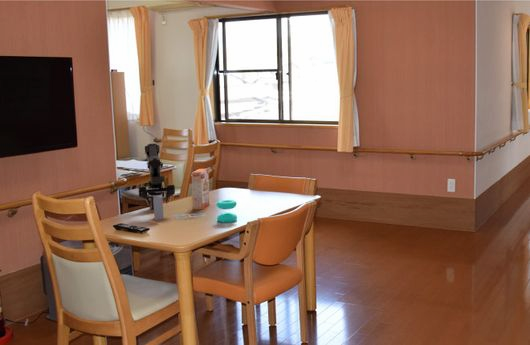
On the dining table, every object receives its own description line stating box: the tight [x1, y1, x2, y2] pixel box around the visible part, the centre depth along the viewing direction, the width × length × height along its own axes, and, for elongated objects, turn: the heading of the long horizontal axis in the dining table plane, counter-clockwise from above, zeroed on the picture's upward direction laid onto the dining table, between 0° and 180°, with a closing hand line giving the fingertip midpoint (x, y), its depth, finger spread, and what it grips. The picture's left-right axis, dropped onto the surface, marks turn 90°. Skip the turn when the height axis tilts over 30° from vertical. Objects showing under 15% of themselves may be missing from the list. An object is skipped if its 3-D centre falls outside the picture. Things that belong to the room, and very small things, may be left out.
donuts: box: [216, 199, 238, 223], centre depth 321 cm, size 10×10×10 cm
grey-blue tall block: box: [153, 194, 165, 221], centre depth 330 cm, size 4×4×12 cm
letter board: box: [173, 211, 208, 220], centre depth 335 cm, size 12×16×1 cm
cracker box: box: [191, 168, 210, 210], centre depth 356 cm, size 14×6×21 cm, turn 168°
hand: (157, 203), depth 332 cm, fingers open, 9 cm apart
